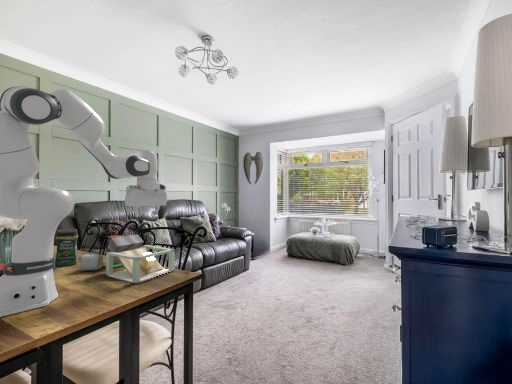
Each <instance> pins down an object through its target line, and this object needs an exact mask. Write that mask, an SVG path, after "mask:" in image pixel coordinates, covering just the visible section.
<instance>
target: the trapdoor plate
mask: <svg viewBox="0 0 512 384" xmlns="http://www.w3.org/2000/svg"><path fill="white" fill-rule="evenodd" d="M143 244H144V240H143V239H142V238H141V237H140V235H139V234H129V235H123V236H122V237H115V238H111V239H110V242H109V244H108V243H107V247H108V248H109V249H110V250H111V252H116V253H121V254H126V255H132V256H142V254H144V253H148V252H150V249H149V250H148V249H147V248H146V246H143ZM150 253H151V252H150ZM117 258H118V259H119V260H120V262H121V263H122V264H123V266H122V267H124V268H125V269H126V270H127V271H128V273H129V274H130V275H131V277H132V278H133V260H131V259H126V258H121V257H117ZM163 268H164V266H162V265H161V264H160V262H159V261H158V260H157V259H156V260H155V262H154V264H153V266H152V268H151V269H149V270H146V271H143V270H142V269H141V267H140V276H142V275H146V274H149V273H152V272H156V271H159V270H163ZM125 269H124V270H125Z"/></svg>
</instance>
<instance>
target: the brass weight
mask: <svg viewBox="0 0 512 384" xmlns="http://www.w3.org/2000/svg"><path fill="white" fill-rule="evenodd" d="M151 253H152V252H148V253H144V254H142V255H146V254H151ZM155 260H157V259H156V257H155V256H153V257H149V258H144V259H140V267H141V269H142V270H143V271H146V270H149V269H151V268H152V266H153V264H154V262H155Z"/></svg>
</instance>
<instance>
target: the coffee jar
mask: <svg viewBox="0 0 512 384" xmlns="http://www.w3.org/2000/svg"><path fill="white" fill-rule="evenodd" d="M78 239H79V233H78V229H77V228H62V229H58V230H56V232H55V240H56V254H55V257H54V259H55V267H65V266H72V265H76V264H78V249H77V247H78V246H77V244H78V243H77V240H78Z"/></svg>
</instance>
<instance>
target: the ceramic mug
mask: <svg viewBox="0 0 512 384" xmlns="http://www.w3.org/2000/svg"><path fill="white" fill-rule="evenodd" d="M79 263H80V264H79V269H80V271H83V272H85V271H99V270H100V269H102V267H103V265H104V257H103V255H101V254H87V253H84V254H83V255H82V256H81V257H80V262H79Z"/></svg>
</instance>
